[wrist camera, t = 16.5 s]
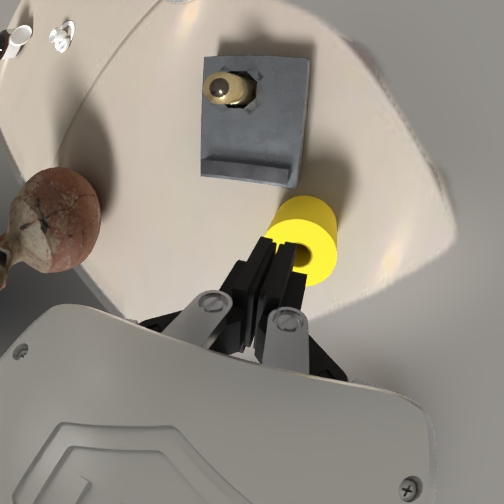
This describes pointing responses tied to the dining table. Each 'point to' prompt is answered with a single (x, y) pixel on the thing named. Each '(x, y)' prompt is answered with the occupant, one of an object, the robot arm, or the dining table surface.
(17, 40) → the spread jar
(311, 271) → the yellow hollow cylinder
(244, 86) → the cylinder
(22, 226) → the jug
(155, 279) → the dining table surface
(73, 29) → the teacup and saucer
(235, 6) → the dining table surface
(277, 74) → the jig
